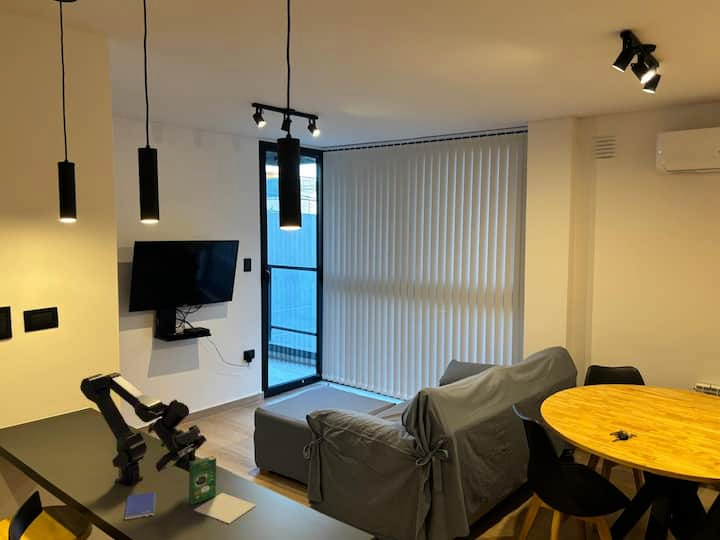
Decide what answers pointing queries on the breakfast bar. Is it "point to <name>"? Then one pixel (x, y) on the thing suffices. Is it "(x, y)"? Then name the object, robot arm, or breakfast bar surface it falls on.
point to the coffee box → (202, 480)
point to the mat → (225, 508)
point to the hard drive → (140, 505)
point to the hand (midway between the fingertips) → (197, 474)
